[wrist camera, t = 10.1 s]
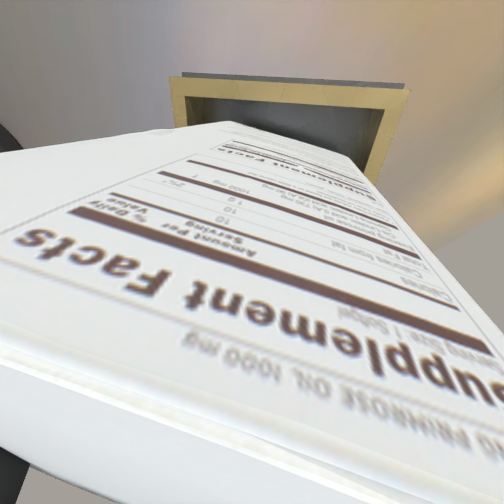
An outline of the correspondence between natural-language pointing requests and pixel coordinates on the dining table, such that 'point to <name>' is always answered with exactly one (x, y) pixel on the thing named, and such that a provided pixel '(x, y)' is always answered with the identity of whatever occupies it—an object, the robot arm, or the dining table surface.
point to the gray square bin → (298, 111)
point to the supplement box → (236, 329)
